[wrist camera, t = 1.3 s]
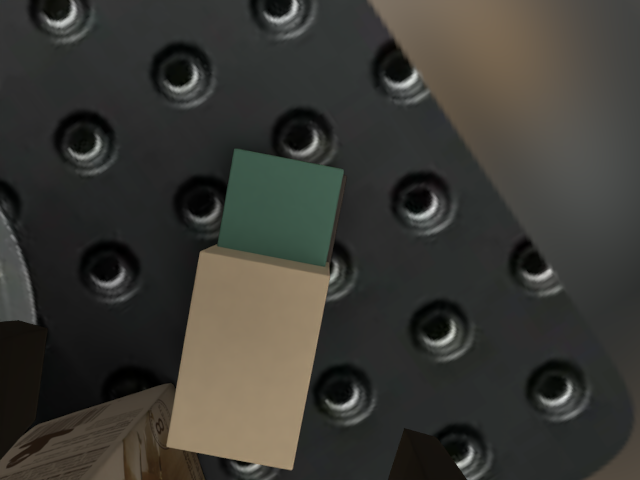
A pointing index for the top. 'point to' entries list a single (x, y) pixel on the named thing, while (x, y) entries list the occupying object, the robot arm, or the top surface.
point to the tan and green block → (258, 312)
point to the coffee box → (105, 444)
